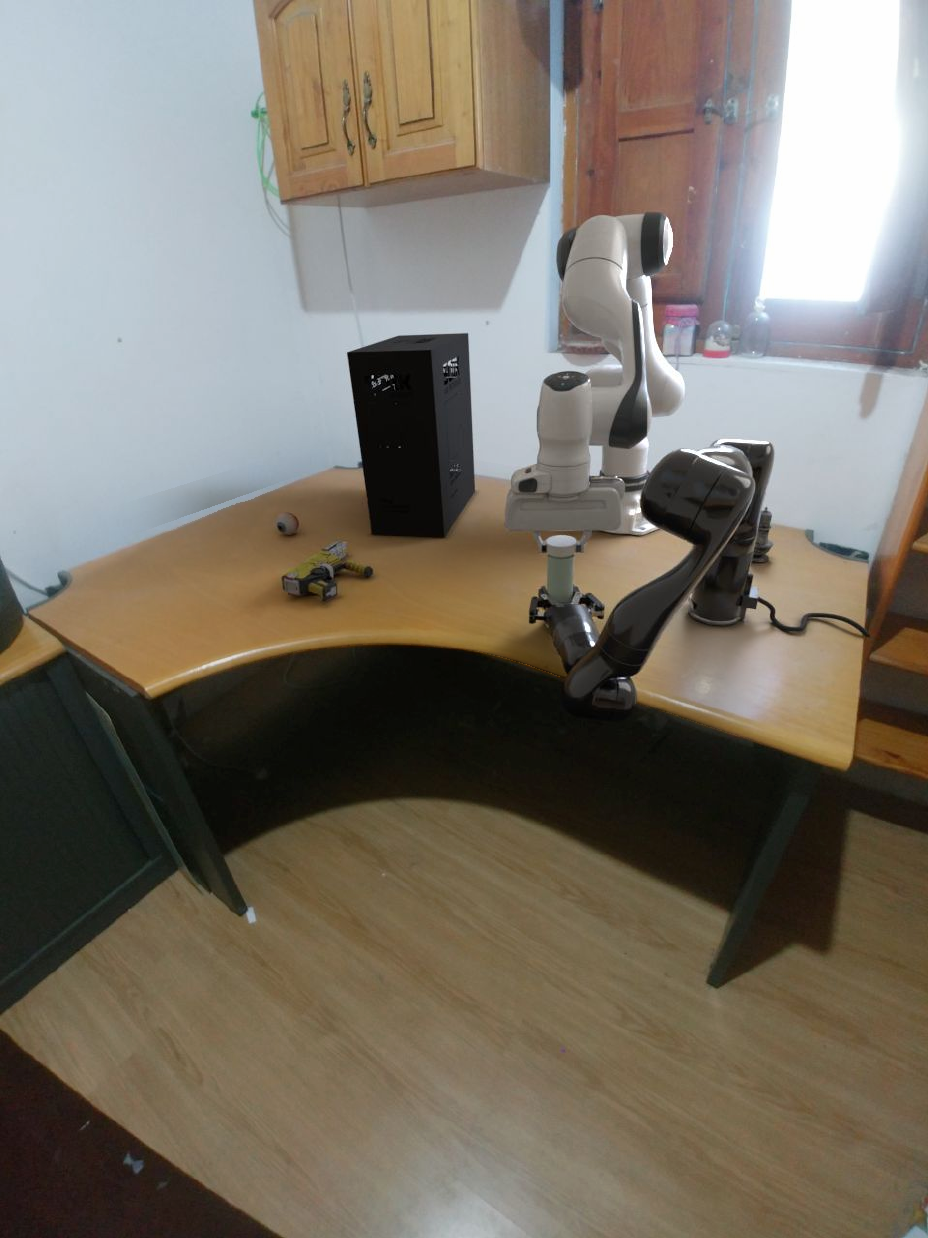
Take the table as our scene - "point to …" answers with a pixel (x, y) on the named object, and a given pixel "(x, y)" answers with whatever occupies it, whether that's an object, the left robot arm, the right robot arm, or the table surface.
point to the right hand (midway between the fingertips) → (556, 589)
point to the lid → (561, 546)
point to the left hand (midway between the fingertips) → (560, 551)
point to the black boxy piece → (414, 431)
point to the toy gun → (321, 572)
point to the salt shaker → (763, 537)
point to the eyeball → (287, 523)
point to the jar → (560, 578)
